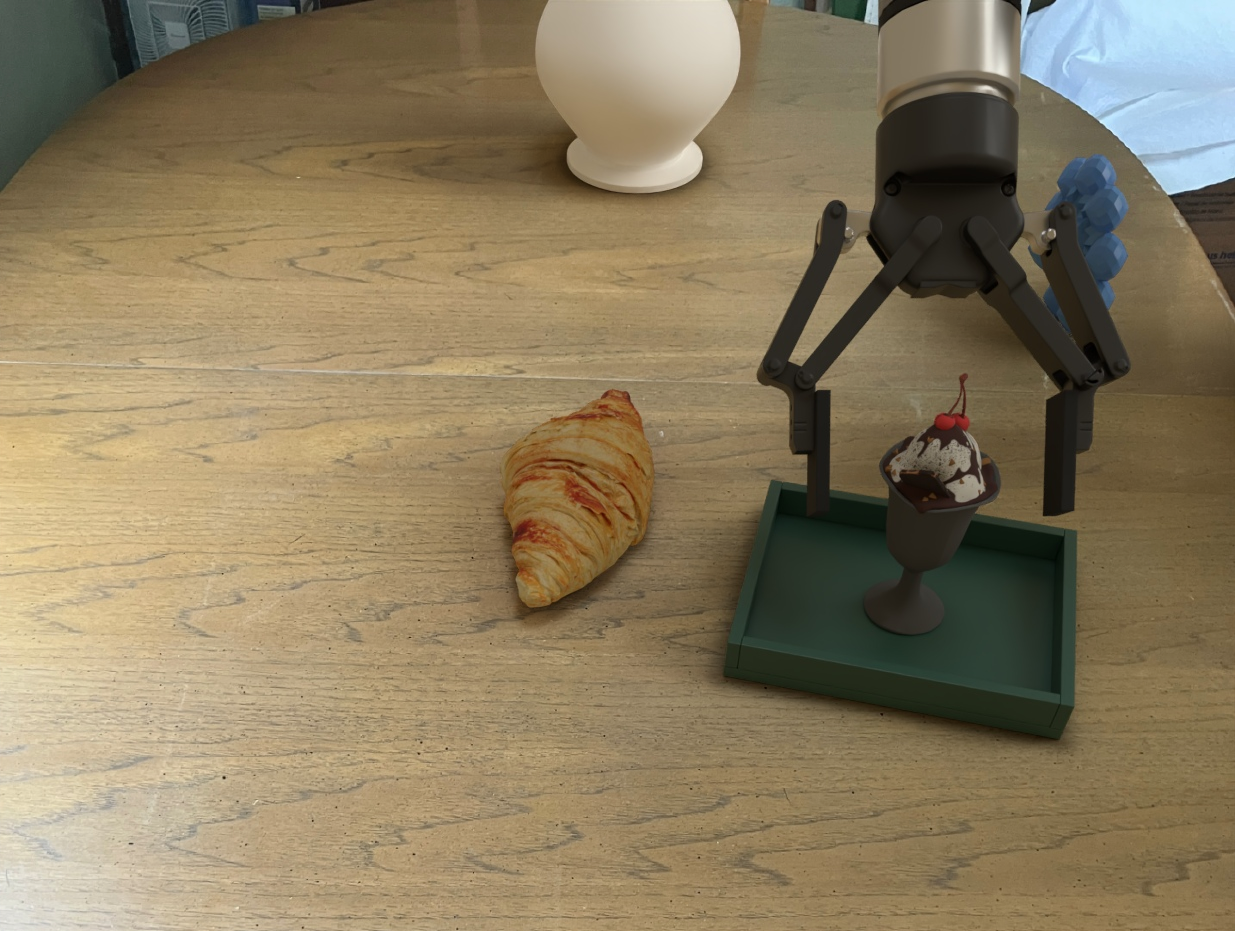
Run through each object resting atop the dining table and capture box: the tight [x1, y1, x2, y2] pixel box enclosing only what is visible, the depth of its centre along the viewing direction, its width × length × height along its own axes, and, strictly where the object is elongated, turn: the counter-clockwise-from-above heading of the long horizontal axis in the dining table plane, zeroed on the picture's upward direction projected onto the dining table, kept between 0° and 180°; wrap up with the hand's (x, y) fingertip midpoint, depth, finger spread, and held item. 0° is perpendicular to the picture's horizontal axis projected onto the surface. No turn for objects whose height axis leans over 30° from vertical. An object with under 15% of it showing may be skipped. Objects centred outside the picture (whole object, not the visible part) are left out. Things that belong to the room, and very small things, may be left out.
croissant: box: [499, 388, 656, 608], centre depth 80 cm, size 21×10×8 cm, turn 166°
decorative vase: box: [534, 0, 741, 194], centre depth 104 cm, size 18×18×25 cm
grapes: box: [1027, 153, 1130, 335], centre depth 94 cm, size 12×7×12 cm, turn 7°
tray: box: [722, 479, 1078, 740], centre depth 75 cm, size 20×16×3 cm
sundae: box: [864, 372, 1002, 635], centre depth 70 cm, size 7×7×15 cm
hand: (938, 515), depth 69 cm, fingers open, 13 cm apart
